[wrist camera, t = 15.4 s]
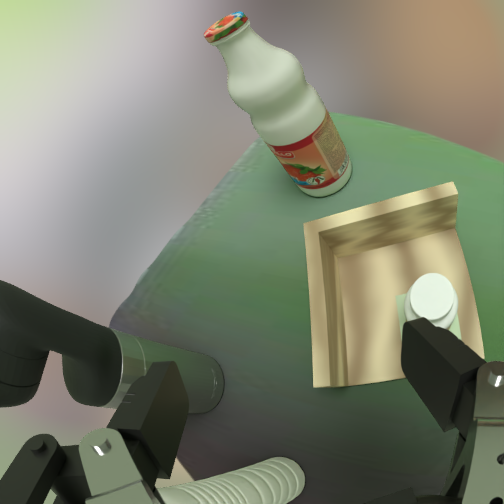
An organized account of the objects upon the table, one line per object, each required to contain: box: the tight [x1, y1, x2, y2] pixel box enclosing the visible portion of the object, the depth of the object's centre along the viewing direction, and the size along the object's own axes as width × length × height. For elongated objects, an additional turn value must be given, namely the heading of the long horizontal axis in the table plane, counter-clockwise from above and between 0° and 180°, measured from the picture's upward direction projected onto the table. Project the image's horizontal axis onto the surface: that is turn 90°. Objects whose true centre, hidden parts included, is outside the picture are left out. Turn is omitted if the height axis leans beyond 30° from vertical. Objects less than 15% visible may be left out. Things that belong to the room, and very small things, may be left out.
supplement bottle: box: [404, 273, 458, 330], centre depth 24 cm, size 5×5×10 cm
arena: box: [304, 182, 484, 387], centre depth 28 cm, size 18×18×8 cm
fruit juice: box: [204, 12, 352, 197], centre depth 34 cm, size 9×9×28 cm
